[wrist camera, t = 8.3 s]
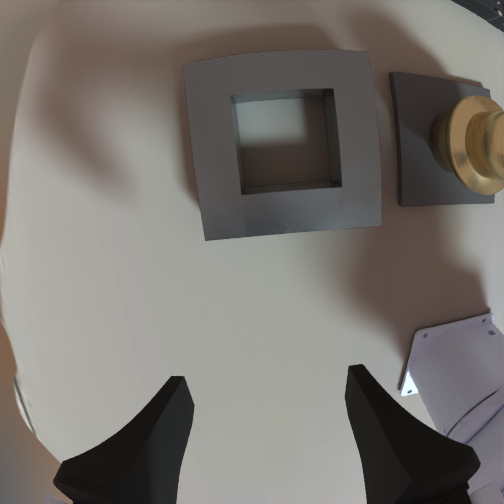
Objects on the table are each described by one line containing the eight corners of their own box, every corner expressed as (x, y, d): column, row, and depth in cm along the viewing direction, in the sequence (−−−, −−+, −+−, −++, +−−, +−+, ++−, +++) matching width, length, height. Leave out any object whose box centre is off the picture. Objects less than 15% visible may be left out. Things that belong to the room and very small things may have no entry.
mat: (484, 90, 15) (489, 89, 14) (489, 201, 18) (494, 203, 17) (389, 73, 15) (392, 71, 15) (398, 204, 18) (402, 206, 18)
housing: (353, 64, 15) (367, 51, 12) (365, 213, 19) (381, 225, 16) (195, 75, 16) (182, 63, 13) (213, 226, 19) (205, 240, 17)
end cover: (480, 108, 15) (552, 106, 8) (481, 186, 17) (551, 211, 10) (416, 94, 15) (487, 78, 8) (419, 182, 17) (490, 207, 10)
